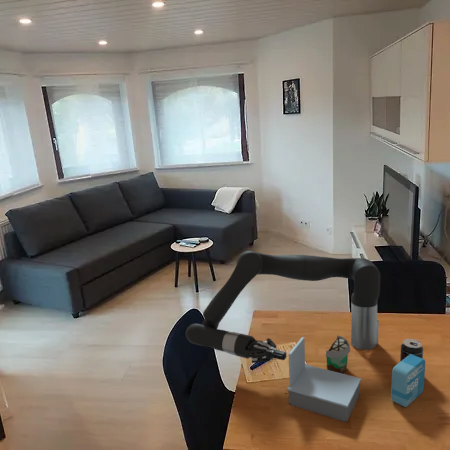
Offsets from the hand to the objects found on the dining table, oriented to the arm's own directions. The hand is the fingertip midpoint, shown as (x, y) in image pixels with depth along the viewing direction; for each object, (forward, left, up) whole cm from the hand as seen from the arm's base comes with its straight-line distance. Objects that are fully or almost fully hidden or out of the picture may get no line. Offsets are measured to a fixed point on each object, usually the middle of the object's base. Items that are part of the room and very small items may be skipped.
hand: (285, 356), depth 142 cm
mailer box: (-6, +11, -12) cm, 18 cm away
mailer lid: (-6, +11, -7) cm, 14 cm away
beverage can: (-38, +17, -12) cm, 44 cm away
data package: (-28, +24, -12) cm, 39 cm away
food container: (-21, +2, -12) cm, 25 cm away
